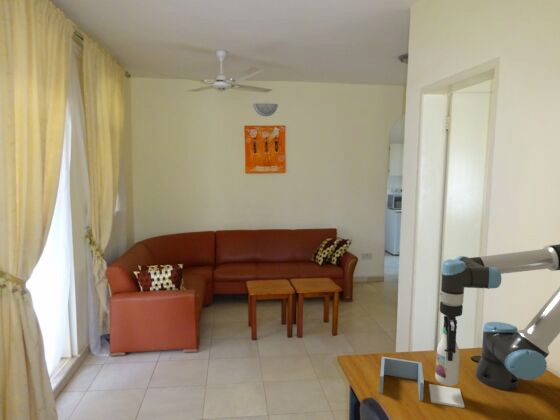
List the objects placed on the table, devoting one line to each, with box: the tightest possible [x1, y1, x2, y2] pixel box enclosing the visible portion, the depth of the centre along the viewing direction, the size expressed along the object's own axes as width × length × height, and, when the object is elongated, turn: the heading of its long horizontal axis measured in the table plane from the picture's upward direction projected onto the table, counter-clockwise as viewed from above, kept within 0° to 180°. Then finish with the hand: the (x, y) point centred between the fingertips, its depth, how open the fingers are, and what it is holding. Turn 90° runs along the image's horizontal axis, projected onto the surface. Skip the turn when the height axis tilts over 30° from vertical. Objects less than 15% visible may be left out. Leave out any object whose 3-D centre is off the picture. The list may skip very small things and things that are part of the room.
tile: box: [428, 383, 465, 409], centre depth 141 cm, size 11×11×1 cm
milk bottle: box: [434, 326, 460, 387], centre depth 139 cm, size 8×8×20 cm
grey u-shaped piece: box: [378, 356, 425, 402], centre depth 147 cm, size 15×15×7 cm
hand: (447, 362), depth 139 cm, fingers closed on milk bottle, 8 cm apart
